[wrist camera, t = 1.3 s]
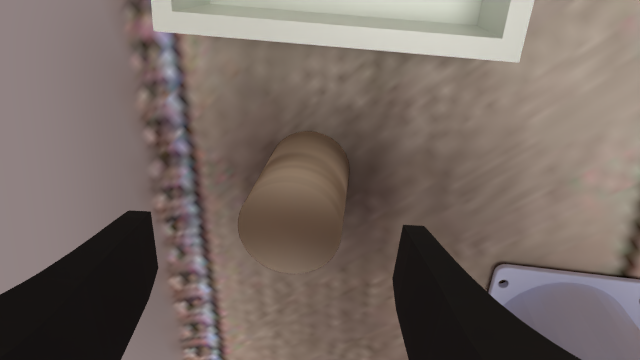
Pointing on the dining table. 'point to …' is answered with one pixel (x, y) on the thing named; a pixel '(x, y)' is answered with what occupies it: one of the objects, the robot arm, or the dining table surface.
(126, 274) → the robot arm
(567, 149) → the dining table surface
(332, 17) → the sage bin
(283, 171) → the birch cylinder
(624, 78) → the dining table surface
